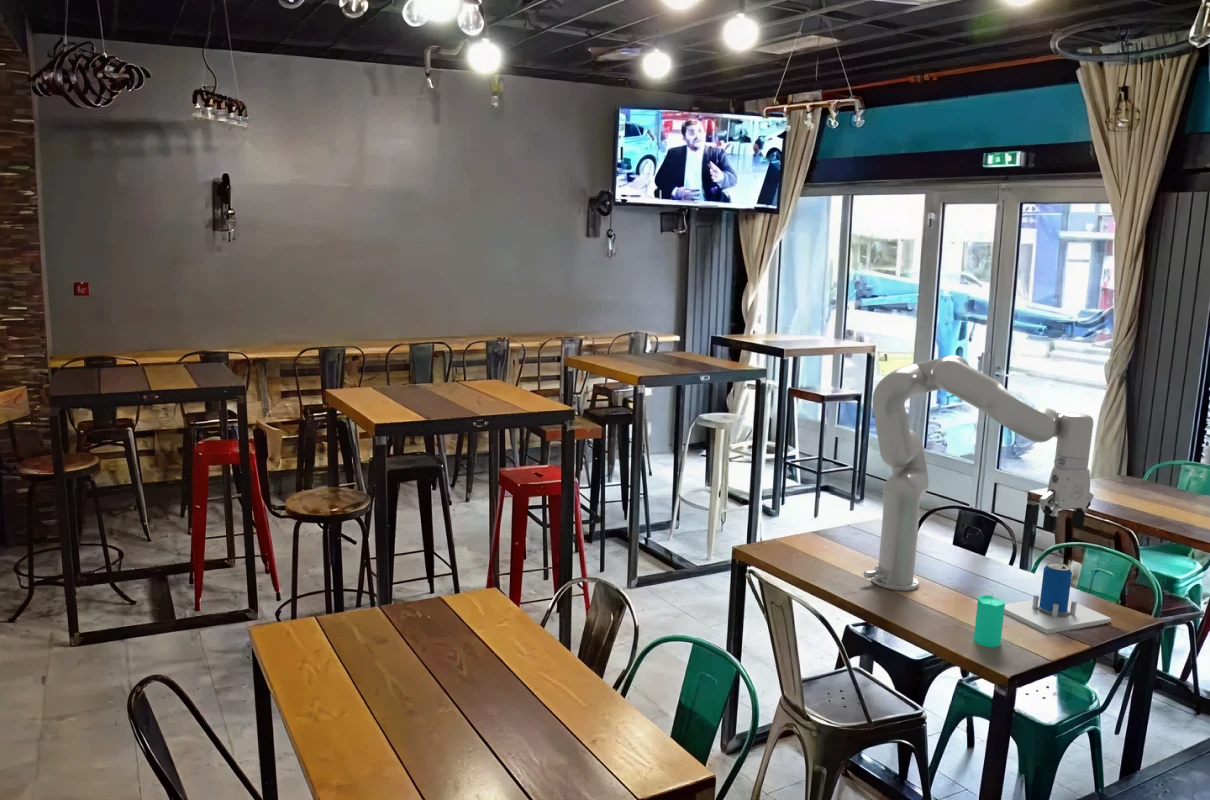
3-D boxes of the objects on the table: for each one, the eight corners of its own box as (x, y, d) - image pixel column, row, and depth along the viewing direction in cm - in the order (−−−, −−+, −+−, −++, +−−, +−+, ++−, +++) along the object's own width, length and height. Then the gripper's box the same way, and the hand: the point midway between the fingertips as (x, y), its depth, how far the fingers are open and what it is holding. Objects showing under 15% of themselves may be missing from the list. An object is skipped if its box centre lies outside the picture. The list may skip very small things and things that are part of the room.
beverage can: (1071, 616, 238) (1077, 570, 236) (1045, 615, 238) (1051, 569, 236) (1059, 606, 245) (1065, 562, 243) (1034, 605, 245) (1040, 561, 243)
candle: (969, 636, 227) (974, 588, 225) (994, 637, 227) (1000, 589, 225) (978, 646, 221) (984, 598, 219) (1004, 647, 221) (1010, 599, 219)
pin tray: (1046, 633, 230) (1048, 615, 229) (996, 609, 245) (998, 592, 244) (1110, 622, 239) (1113, 605, 238) (1058, 599, 253) (1060, 583, 252)
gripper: (1058, 468, 228) (1049, 536, 231) (1109, 464, 235) (1100, 530, 238) (1033, 461, 235) (1025, 527, 238) (1083, 457, 242) (1075, 521, 245)
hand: (1062, 528), depth 238 cm, fingers open, 9 cm apart
